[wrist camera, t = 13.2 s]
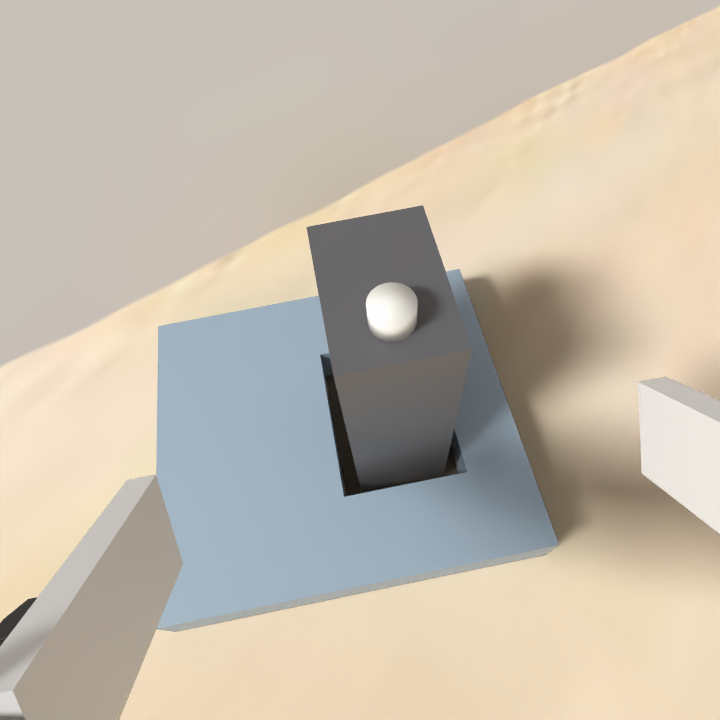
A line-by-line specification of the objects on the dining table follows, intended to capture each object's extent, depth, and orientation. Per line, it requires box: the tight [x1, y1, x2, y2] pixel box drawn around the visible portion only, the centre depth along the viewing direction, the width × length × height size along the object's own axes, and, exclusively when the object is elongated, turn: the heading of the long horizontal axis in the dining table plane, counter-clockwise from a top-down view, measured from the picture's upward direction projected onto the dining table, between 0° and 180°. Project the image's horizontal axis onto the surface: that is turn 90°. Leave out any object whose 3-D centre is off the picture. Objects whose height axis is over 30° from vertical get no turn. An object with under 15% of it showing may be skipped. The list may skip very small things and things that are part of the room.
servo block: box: [307, 206, 472, 492], centre depth 23 cm, size 4×6×14 cm
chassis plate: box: [156, 269, 559, 632], centre depth 28 cm, size 18×16×2 cm
